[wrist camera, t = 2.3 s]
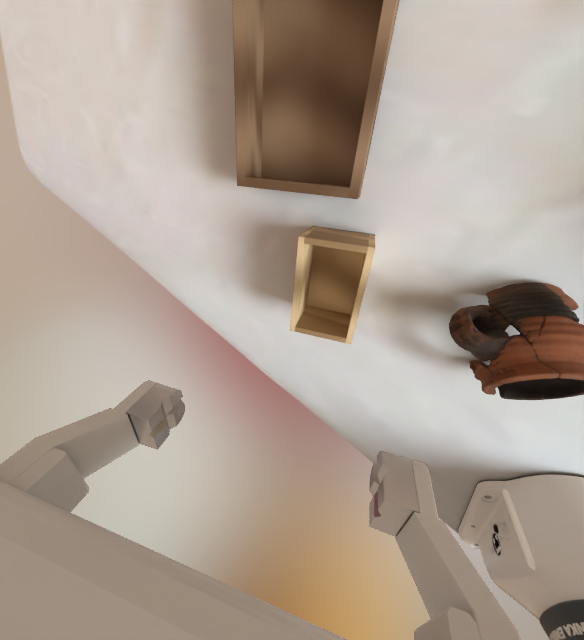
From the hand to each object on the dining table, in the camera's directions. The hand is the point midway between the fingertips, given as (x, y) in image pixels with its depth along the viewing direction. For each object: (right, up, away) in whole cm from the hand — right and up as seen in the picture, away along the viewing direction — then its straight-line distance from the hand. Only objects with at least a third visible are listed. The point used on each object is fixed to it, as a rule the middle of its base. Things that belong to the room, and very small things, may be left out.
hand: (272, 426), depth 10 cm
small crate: (+5, +9, +16) cm, 19 cm away
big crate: (+3, +22, +10) cm, 24 cm away
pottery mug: (+21, +4, +14) cm, 26 cm away
